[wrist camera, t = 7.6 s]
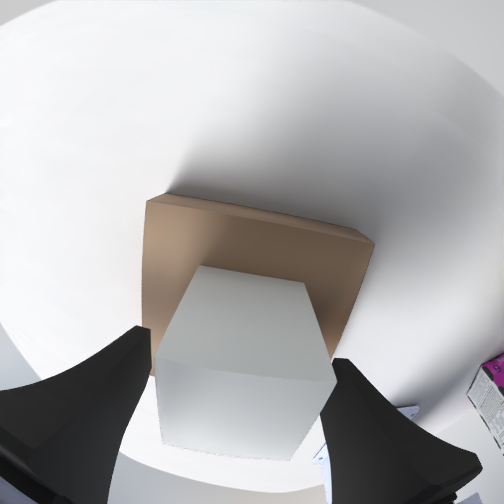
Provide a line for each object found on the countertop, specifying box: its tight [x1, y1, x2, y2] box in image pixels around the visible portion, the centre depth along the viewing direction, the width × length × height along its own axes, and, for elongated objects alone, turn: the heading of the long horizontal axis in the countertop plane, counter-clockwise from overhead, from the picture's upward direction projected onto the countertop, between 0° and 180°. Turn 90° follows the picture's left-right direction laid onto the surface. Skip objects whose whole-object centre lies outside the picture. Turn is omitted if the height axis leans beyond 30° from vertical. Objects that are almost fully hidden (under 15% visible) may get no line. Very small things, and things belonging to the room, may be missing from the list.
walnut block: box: [142, 193, 375, 376], centre depth 14 cm, size 10×10×3 cm
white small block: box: [154, 265, 337, 461], centre depth 10 cm, size 5×5×6 cm
